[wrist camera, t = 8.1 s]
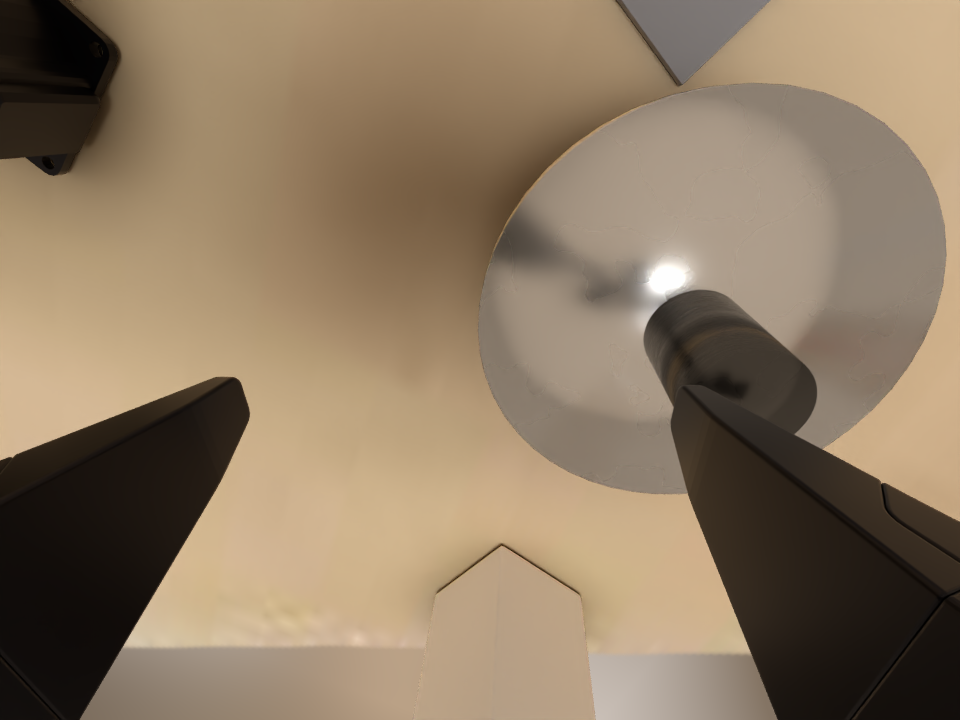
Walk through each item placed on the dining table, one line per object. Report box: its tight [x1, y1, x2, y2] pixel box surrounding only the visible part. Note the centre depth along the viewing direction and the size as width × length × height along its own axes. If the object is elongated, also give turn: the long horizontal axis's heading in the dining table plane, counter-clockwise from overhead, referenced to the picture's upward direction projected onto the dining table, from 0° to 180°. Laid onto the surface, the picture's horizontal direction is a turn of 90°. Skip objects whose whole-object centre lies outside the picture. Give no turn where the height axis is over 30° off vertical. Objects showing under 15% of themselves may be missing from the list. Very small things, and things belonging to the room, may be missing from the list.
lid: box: [478, 83, 946, 494], centre depth 13 cm, size 14×14×5 cm
